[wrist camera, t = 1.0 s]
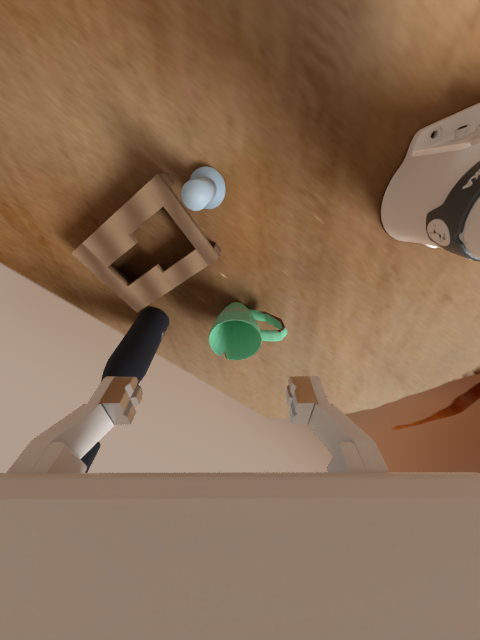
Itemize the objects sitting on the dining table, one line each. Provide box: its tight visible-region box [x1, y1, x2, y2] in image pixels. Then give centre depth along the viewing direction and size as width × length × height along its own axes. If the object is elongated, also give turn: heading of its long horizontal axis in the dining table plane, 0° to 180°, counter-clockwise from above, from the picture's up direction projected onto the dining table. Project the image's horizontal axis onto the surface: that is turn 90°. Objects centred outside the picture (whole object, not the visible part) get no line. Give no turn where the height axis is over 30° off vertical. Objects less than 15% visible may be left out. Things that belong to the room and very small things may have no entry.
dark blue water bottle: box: [80, 308, 169, 473], centre depth 36 cm, size 6×6×30 cm
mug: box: [209, 302, 287, 360], centre depth 43 cm, size 15×10×10 cm
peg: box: [181, 167, 226, 211], centre depth 29 cm, size 6×6×12 cm
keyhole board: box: [71, 173, 221, 312], centre depth 37 cm, size 20×14×4 cm
